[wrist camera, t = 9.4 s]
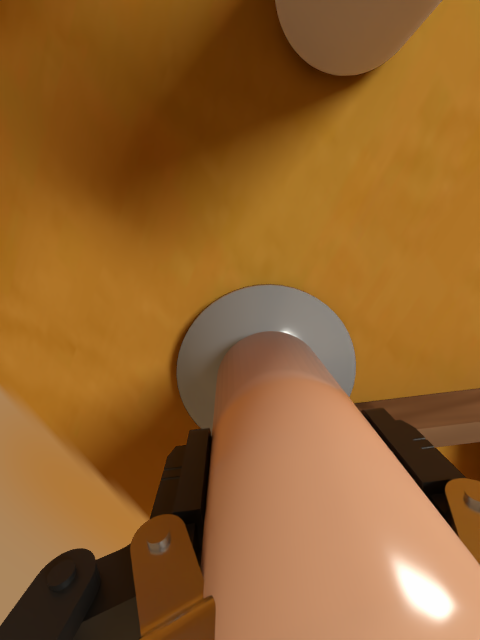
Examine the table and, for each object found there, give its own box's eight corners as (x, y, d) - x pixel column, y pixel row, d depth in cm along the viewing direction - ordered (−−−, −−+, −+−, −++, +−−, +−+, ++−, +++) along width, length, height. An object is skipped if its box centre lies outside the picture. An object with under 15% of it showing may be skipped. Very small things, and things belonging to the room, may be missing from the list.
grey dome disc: (164, 295, 16) (162, 297, 16) (349, 273, 16) (354, 275, 16) (192, 455, 19) (191, 461, 18) (353, 435, 19) (357, 441, 18)
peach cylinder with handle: (210, 337, 15) (151, 631, 4) (319, 324, 15) (597, 577, 4) (230, 477, 17) (233, 942, 6) (326, 465, 18) (518, 905, 6)
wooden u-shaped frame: (349, 404, 18) (372, 434, 15) (520, 383, 18) (575, 410, 15) (352, 525, 20) (372, 572, 18) (504, 507, 21) (549, 550, 18)
